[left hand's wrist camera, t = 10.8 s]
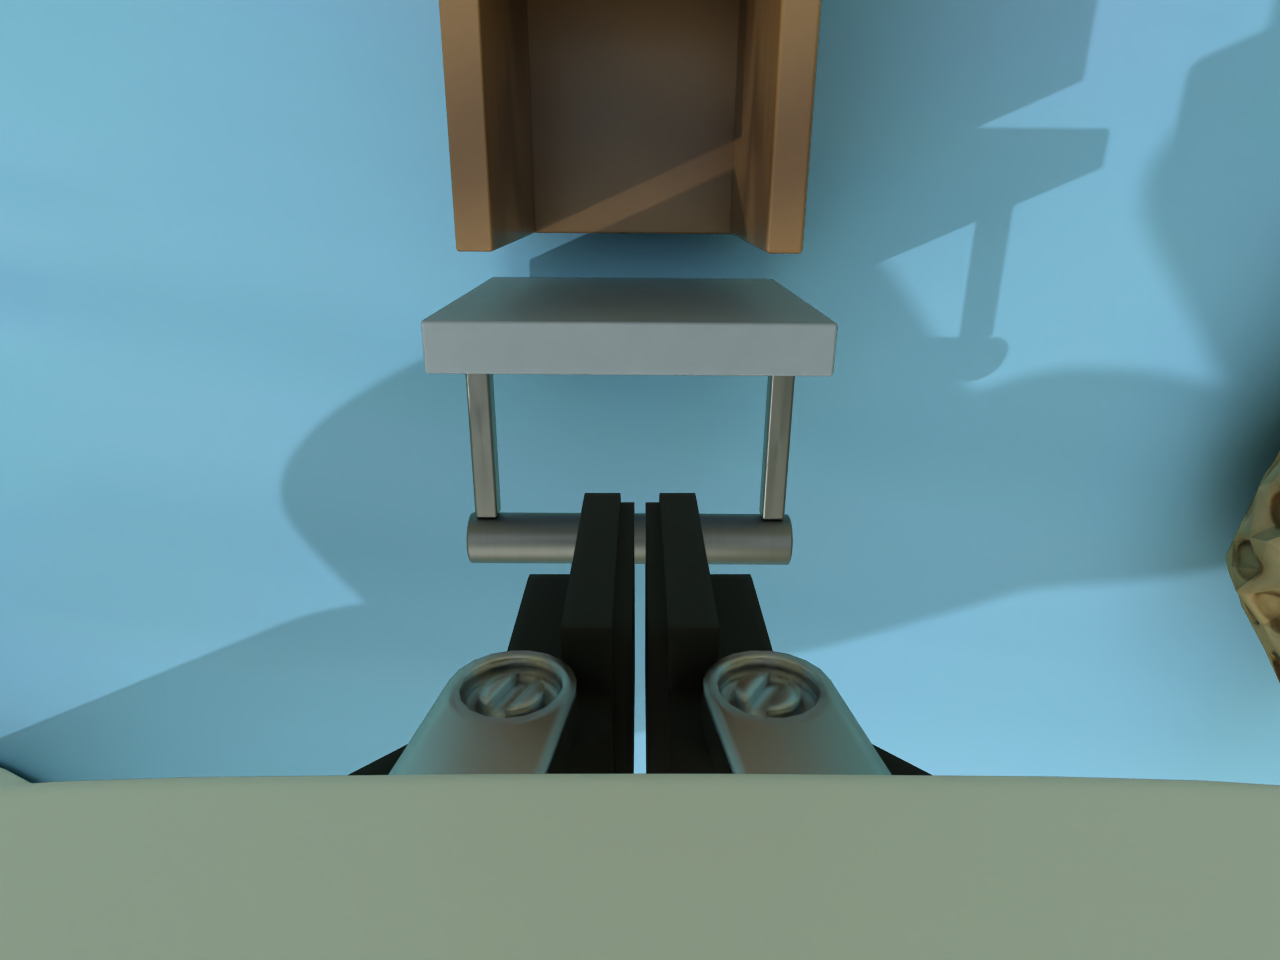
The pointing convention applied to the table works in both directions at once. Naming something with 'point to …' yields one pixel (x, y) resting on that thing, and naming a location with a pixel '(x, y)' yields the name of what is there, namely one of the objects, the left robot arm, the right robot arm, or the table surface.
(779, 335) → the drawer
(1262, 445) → the table surface
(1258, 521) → the teapot
